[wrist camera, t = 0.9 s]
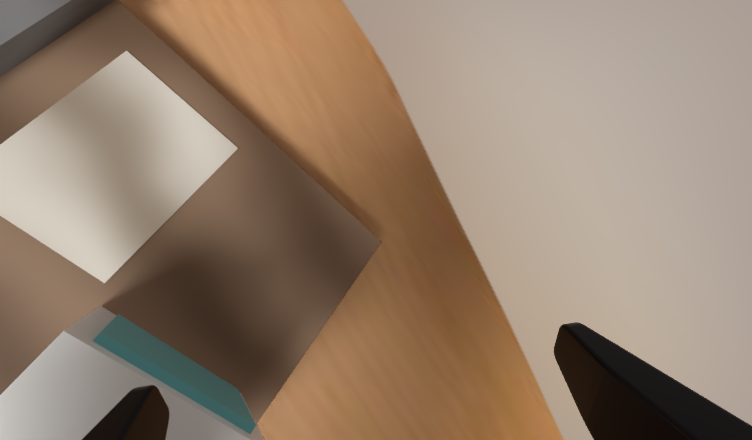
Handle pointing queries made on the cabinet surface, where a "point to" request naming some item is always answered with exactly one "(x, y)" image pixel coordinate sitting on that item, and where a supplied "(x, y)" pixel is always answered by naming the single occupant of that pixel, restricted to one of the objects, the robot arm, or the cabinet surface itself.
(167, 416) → the robot arm
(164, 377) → the carton
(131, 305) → the shelf board
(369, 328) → the cabinet surface
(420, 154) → the cabinet surface
